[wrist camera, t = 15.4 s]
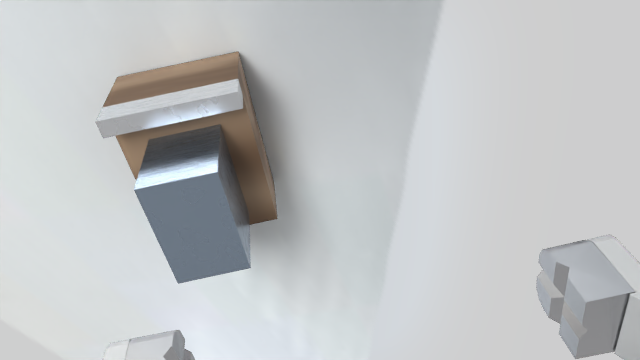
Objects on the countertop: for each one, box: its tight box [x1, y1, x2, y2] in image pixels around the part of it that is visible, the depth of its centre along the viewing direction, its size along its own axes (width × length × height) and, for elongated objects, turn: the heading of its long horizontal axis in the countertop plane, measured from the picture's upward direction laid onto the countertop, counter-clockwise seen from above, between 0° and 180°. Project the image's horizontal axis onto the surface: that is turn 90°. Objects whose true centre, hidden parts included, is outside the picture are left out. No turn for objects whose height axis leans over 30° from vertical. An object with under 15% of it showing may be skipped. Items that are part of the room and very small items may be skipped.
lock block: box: [134, 124, 251, 283], centre depth 35 cm, size 8×5×6 cm, turn 10°
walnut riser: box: [95, 52, 277, 225], centre depth 38 cm, size 12×9×7 cm
